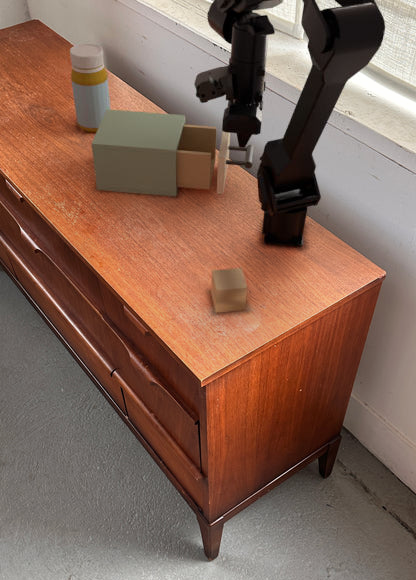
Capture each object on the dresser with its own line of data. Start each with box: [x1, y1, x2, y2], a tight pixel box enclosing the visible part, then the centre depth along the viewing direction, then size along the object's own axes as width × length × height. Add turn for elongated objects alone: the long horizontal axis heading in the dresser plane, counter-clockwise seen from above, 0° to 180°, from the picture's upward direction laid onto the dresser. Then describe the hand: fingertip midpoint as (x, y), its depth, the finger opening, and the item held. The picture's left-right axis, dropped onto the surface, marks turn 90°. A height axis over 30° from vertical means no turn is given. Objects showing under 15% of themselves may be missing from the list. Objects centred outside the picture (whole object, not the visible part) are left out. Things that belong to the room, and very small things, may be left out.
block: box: [210, 267, 248, 314], centre depth 94 cm, size 4×4×4 cm
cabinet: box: [91, 109, 186, 197], centre depth 115 cm, size 15×13×9 cm
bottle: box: [69, 43, 112, 134], centre depth 124 cm, size 7×7×15 cm
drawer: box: [176, 124, 255, 195], centre depth 114 cm, size 18×11×7 cm, turn 84°
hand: (242, 146), depth 112 cm, fingers closed
